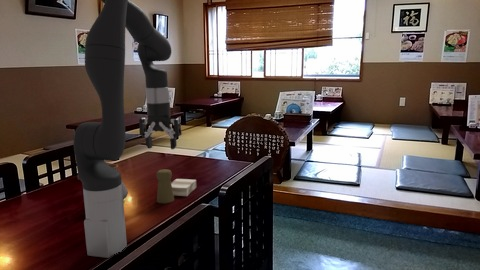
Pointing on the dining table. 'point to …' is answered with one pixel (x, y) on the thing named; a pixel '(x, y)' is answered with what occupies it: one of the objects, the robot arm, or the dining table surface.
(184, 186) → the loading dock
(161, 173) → the cork
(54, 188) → the dining table surface
